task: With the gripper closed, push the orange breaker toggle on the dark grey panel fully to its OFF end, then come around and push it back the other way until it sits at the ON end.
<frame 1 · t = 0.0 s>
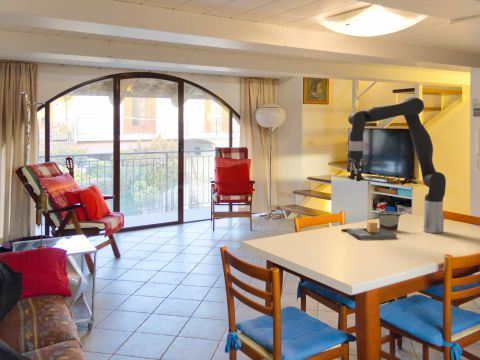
hand: (355, 180, 252), 29 cm above the table, fingers open, 8 cm apart
food container: (387, 229, 267), on the table
lever: (372, 228, 251), point 4 cm above the table, slide at 1.0 cm
grey rod: (351, 231, 262), on the table
cord b: (353, 235, 251), on the table
panel: (371, 235, 252), on the table
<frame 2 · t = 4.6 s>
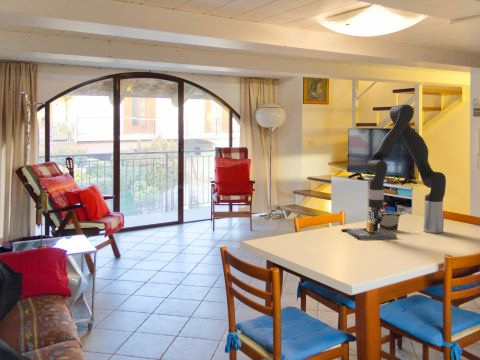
hand: (375, 230, 247), 3 cm above the table, fingers closed
lever: (371, 228, 251), point 4 cm above the table, slide at 0.2 cm, touching gripper
everything else where it was.
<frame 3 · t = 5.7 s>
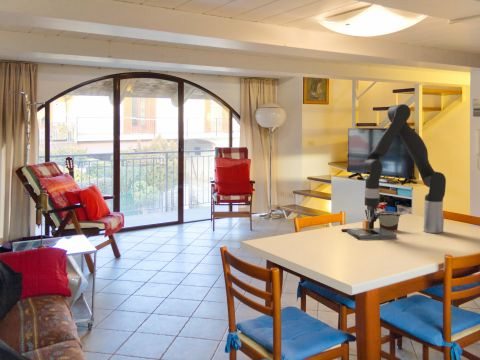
hand: (371, 228, 252), 3 cm above the table, fingers closed
lever: (367, 226, 256), point 4 cm above the table, slide at -5.0 cm, touching gripper
everything else where it was.
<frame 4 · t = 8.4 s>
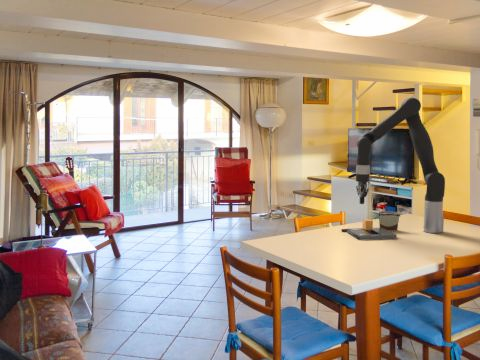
hand: (361, 203, 264), 15 cm above the table, fingers closed
lever: (367, 226, 256), point 4 cm above the table, slide at -5.0 cm
everything else where it was.
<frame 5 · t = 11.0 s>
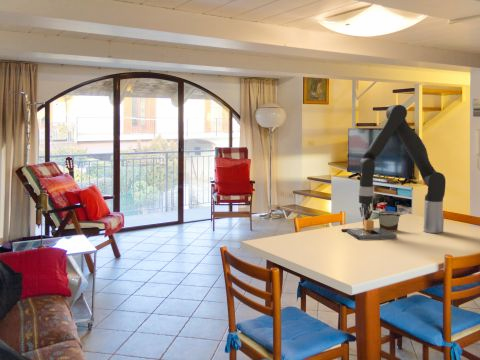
hand: (365, 225, 260), 3 cm above the table, fingers closed
lever: (368, 226, 255), point 4 cm above the table, slide at -3.8 cm, touching gripper
everything else where it was.
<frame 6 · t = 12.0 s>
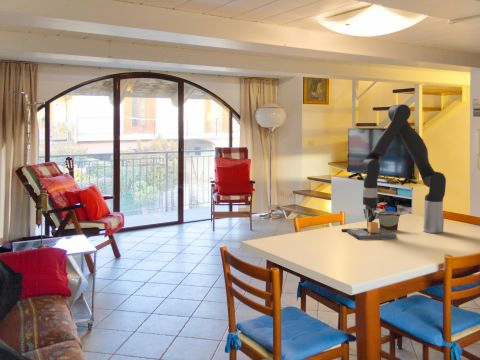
hand: (369, 227, 254), 3 cm above the table, fingers closed
lever: (372, 228, 250), point 4 cm above the table, slide at 2.0 cm, touching gripper
everything else where it was.
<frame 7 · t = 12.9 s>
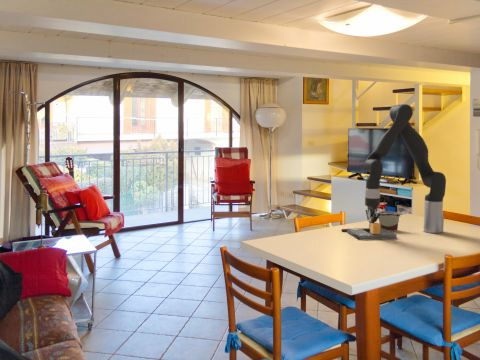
hand: (371, 229, 251), 3 cm above the table, fingers closed
lever: (375, 229, 247), point 4 cm above the table, slide at 5.1 cm, touching gripper
everything else where it was.
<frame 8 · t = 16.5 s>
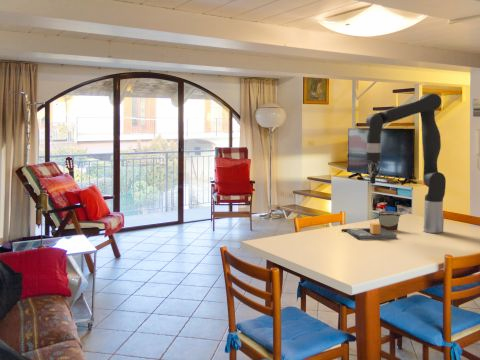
hand: (372, 183, 256), 27 cm above the table, fingers closed
lever: (375, 229, 247), point 4 cm above the table, slide at 5.0 cm
everything else where it was.
at the end: lever slide at 5.0 cm; lever touching nothing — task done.
